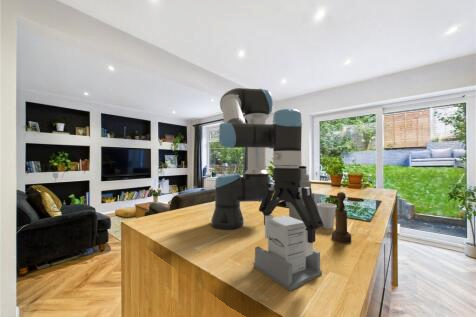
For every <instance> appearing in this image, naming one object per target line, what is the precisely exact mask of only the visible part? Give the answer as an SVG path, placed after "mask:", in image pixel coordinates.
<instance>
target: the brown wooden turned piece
mask: <svg viewBox="0 0 476 317" xmlns="http://www.w3.org/2000/svg"><path fill="white" fill-rule="evenodd" d="M336 197H337V200H338V203H337V207H338V209H337V208H336V210H335V211H336V212H335V230H333V231H331V240H333V241H334V242H337V243H340V244H350V243H351V242H352V234H351V233H350V232H349V231H348V210H346V209H344V208H345V204H344V201H345V200H346V197H347V196H346V193H344V192H342V191H341V192H340V191H339V192H337V194H336Z"/></svg>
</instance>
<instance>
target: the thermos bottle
mask: <svg viewBox="0 0 476 317" xmlns="http://www.w3.org/2000/svg"><path fill="white" fill-rule="evenodd" d="M299 168H301V182H300V187H301V188H303V187H310V188H311V189H312V181H311V180H310V174H308V172H307V171H308V170H307V168H308V167H307V166H306V165H301V166H299ZM299 195H300V194H299ZM300 197H301V198H302V195H300ZM296 200H297V199H296ZM302 200H303V199H302ZM303 204H304V202H303ZM304 205H305V204H304ZM288 216H289V217H292V218H295V219H297V220H300V221H302V219H301V217H300V216H299V214H298V212H297V211H296V209H295V207H294V206H293V205H292V204H291V203H290V202H288Z"/></svg>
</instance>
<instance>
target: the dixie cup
mask: <svg viewBox="0 0 476 317" xmlns="http://www.w3.org/2000/svg"><path fill="white" fill-rule="evenodd" d="M316 207H317V210H318V212H319V215H320V217H321V220H322V222H323V225H324V226H323V227H322V228H323V229H334V225H335V220H336V211H335V210H337V207H338V205H337V204H334V203H328V202H319V203H316Z"/></svg>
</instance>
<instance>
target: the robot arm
mask: <svg viewBox="0 0 476 317" xmlns="http://www.w3.org/2000/svg"><path fill="white" fill-rule="evenodd" d="M219 106H220V108H219V109H220V110H221V112H222V114H223V115H222V116H223V122H221V123H220V124H219V126H218V128H219V129H218V139H219V140H218V141H219V142H218V145H220V147H224V148H225V147H226V148H230V149H231V148H232V149H233V148H247V170H246V171H245V172H244V174H243V175H244V176H241V174H240V173H230V174H225V175H220V176H217V177H216V178H215V185H214V188H215V193H214V194H215V198H214V199H215V200H214V204H215V205H214V206H215V207H214V210H213V214H212V216H211V220H210V221H211V223H210V226H212V227H213V228H214V229H219V230H235V229H239V228H242V227H243V226H244V224H245V222H244V221H245V220H244V216H243V213H242V210H241V202H242V203H244V202H245V203H246V202H261V203H260V206H259V208H258V211H259V212H260V213H262V215H263V225H264V238H265V239H268V219H270V218H274V214H273V212H274V210H275V209H276V208H277V206H278V205H279V203H280V202H286V203H289V202H290V203H291V204H292V205H293V206H294V207H295V209H296V211H297V212H298V214H299V216H300V217H301V219H302V221H303V223H304V224H305V226H306V228H304V229H303V256H305V257H307V256H309V255H311V254H313V250H314V248H313V247H314V245H313V244H314V243H315V242H316V230H317V229H321V228H323V226H324V225H323V222H322V220H321V217H320V215H319V212H318V206H317V204H316V202H315V200H314V198H313V193H312V192H313V191H312V187H311V188H310V187H303V188H301V187H300V182H301V168H299V166H303V165H302V131H303V130H302V129H303V128H302V126H303V123H302V114H301V111H300V110H298V109H295V108H282V109H278V110H276V111H274V113H273V118H272V124H271V123H270V124H269V123H268V124H267V123H266V120H267V119H268V118H269V116H270V115H271V113H272V112H273V96H272V94H271V92H270V91H269V90H268V89H265V88H264V89H262V88H242V87H236V88H233V89H230V90H228V91H226V92H225V93H224V94H223V95H222V96H221V98H220V100H219ZM246 121H247V122H246ZM266 148H267V149H273V151H272V155H273V156H272V158H273V160H272V163H273V164H272V165H273V166H275V167H273V169H272V177H271V176H269V175H270V173H269V172H268V171H267V170H266ZM299 194H300V195H302V198H301V197H300V195H299ZM296 199H297V200H296ZM302 199H303V200H302ZM303 202H304V204H305V205H304V204H303Z"/></svg>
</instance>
